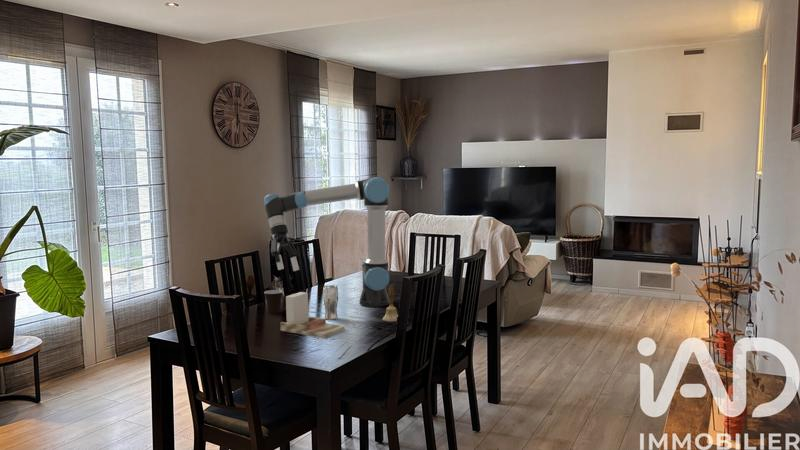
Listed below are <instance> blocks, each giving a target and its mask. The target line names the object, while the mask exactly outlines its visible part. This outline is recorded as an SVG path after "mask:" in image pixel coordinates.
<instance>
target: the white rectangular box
mask: <svg viewBox="0 0 800 450" xmlns="http://www.w3.org/2000/svg"><path fill="white" fill-rule="evenodd" d="M308 293H309V292H304V291H299V292H297V293H293V294H290V295H287V296H285V309H286V310H285V311H286V312H285V313H286V315H285V316H286V323H292V324H299V325H301V324H303V323H306V322H309V317H310V316H309V296H308V295H309V294H308ZM308 316H309V317H308Z"/></svg>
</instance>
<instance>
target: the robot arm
mask: <svg viewBox="0 0 800 450" xmlns="http://www.w3.org/2000/svg"><path fill="white" fill-rule="evenodd" d="M390 192H391V191H390V185H389V183H388V182H387V180H385V179H384V178H383V177H378V176H371V177H369V178H365V179H362V180H357V181H356V182H354V183H349V184H343V185H336V186H330V187H321V188H318V189H309V190H302V191H293V192H292V193H290V194H288V195H285V196H280V195H279V194H278V193H270V194H267V195H266V196H264V198H263V203H264V208H265V209H264V210H265V212H266V215H267V216H266V217H267V220H268V225H269V227H270V233H271V236H270V240H271V244H270V254H271V256H272V257H274V258H275V263H276V267H277V270H278V271H281V270H284V269H285V267H284V263H283V258H282V255H281V254H280V253H281V249H282V248H284V249H285V251H286V252H287V254H288V255H289V256H290V262H291V266H292V271H293V272H296V271H300V266H299V263H298V260H297V257H298V256H299V253H298V251H297V249H296V247H295V245H294V242H293V240H292V238H291V236H288V237H287V234H288V233H289V230H288V226H287V225H286V224H287V222H286V218H285V213H287V212H292V211H297V210H301V209H304V208H306V207H309V206H316V205H322V204H328V203H336V202H342V201H343V202H344V201H349V200H356V199H358V200H359V201H363V202H364V203H363V205H364V207H365V208H366V209H367V215H366V216H367V222H366V223H367V224H366V225H367V226H366V227H367V228H366V229H367V234H366V235H367V236H366V237H367V240H366V241H367V243H366V245H367V249H366V250H367V253H366V256H367V258H366V259H363V260H362V262H361V263H362V264H361V267H362V271H361V272H362V290H361V294H360V297H359V305H360V306H363V307H369V308H370V307H371V308H373V307H375V308H377V307H379V308H380V307H385V306H387V305H390V298H389V293H388V292H387V288H386V287H387V286H388V284H389V282H390V275H389V260H387V259H386V209H387V208H388V206H389V196H390Z"/></svg>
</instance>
